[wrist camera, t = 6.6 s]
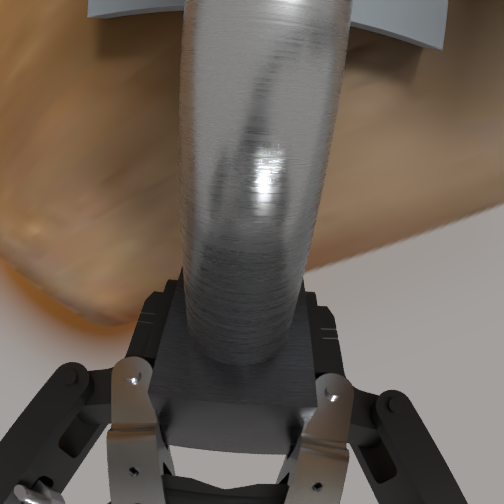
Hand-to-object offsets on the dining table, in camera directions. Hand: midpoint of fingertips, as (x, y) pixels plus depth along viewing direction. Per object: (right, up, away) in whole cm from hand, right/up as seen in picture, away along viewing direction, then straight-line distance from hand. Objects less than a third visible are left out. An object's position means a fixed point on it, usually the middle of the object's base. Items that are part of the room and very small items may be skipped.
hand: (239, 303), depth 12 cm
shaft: (+1, +5, -4) cm, 7 cm away
